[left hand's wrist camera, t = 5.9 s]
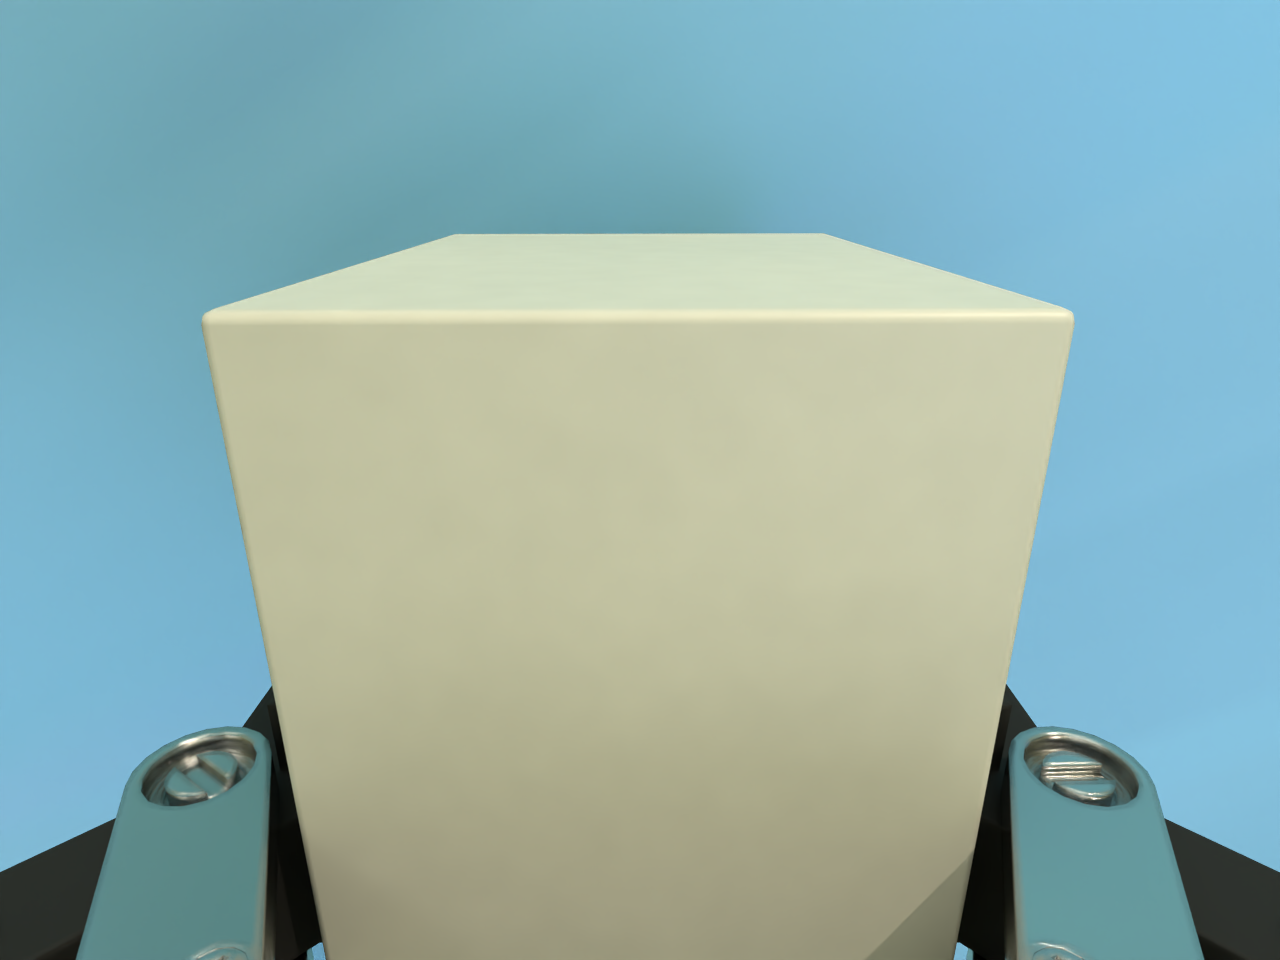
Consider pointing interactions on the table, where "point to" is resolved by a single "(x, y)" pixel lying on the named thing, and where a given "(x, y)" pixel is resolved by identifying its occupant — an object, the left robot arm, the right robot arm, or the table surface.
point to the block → (638, 587)
